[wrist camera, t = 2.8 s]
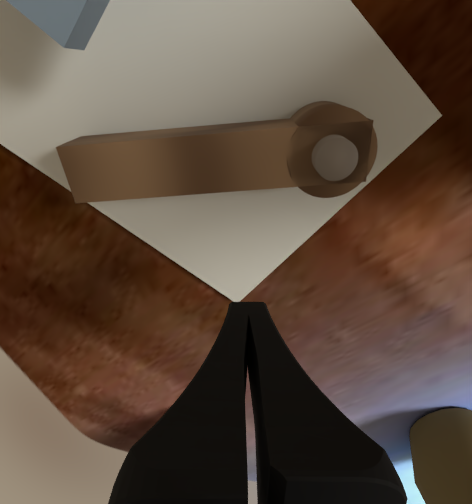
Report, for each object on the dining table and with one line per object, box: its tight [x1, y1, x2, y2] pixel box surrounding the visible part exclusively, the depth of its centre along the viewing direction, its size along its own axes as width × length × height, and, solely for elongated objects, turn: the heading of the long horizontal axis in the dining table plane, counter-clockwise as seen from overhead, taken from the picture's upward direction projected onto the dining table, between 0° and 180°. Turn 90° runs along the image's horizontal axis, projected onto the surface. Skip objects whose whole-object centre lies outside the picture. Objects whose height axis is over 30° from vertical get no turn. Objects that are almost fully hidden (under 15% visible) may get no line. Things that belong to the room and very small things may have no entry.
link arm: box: [56, 101, 378, 203], centre depth 14 cm, size 13×4×3 cm, turn 95°
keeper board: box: [0, 0, 442, 302], centre depth 12 cm, size 20×14×6 cm
